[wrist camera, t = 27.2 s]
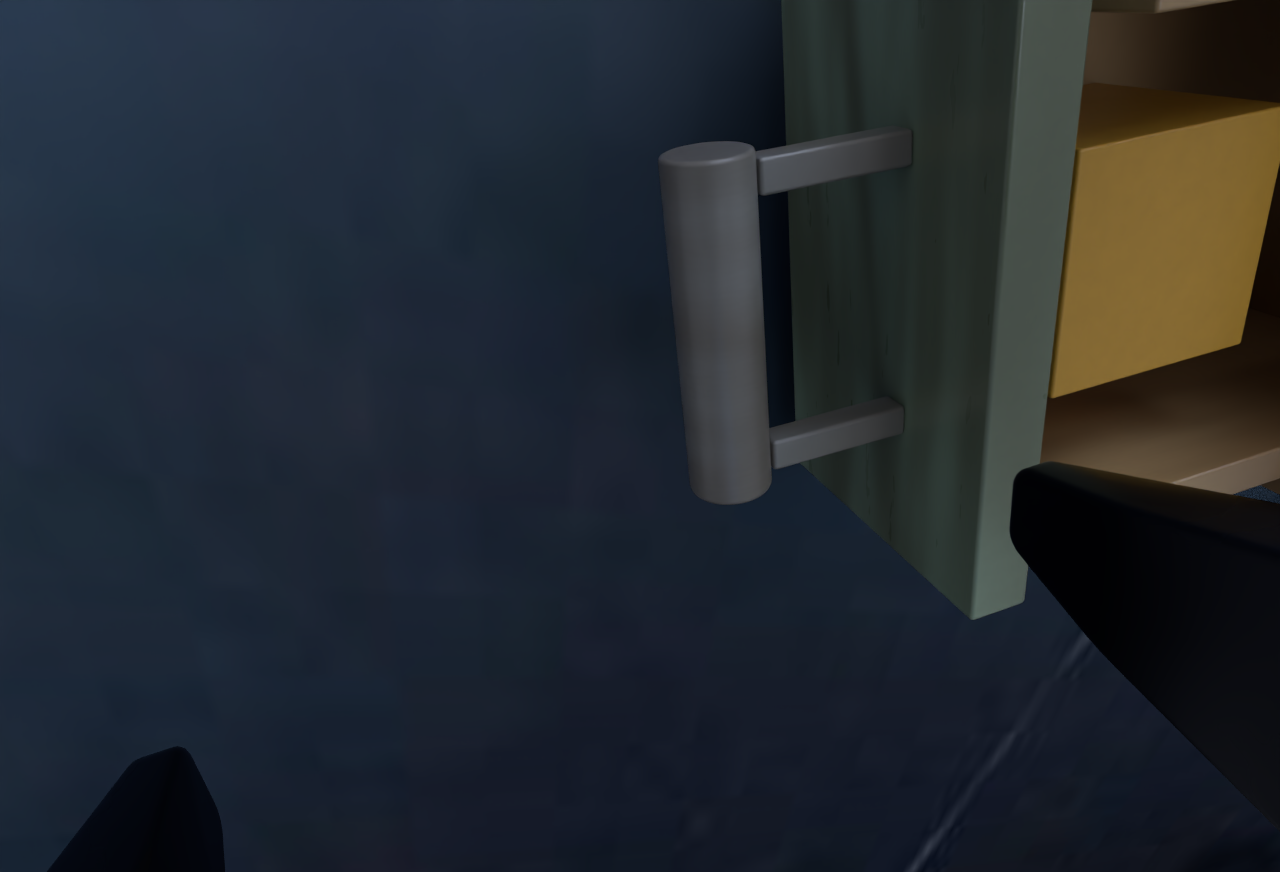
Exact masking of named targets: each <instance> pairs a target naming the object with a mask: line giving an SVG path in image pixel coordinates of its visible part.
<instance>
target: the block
mask: <svg viewBox="0 0 1280 872" xmlns="http://www.w3.org/2000/svg"><path fill="white" fill-rule="evenodd" d="M1279 164H1280V103H1276V102H1267V101H1258V100H1249V99H1240V98H1231V97H1222V96H1213V95H1204V94H1194V93H1185V92H1176V91H1167V90H1158V89H1149V88H1140V87H1131V86H1122V85H1113V84H1104V83H1092V84H1087V85H1083V88H1082V97H1081V106H1080V114H1079V123H1078V132H1077V141H1076V150H1075V158H1074V167H1073V176H1072V185H1071V194H1070V202H1069V211H1068V220H1067V229H1066V238H1065V246H1064V255H1063V264H1062V273H1061V282H1060V290H1059V299H1058V308H1057V317H1056V326H1055V334H1054V343H1053V352H1052V361H1051V370H1050V378H1049V387H1048V396H1047V397H1049V398H1056V397H1059V396H1063V395H1066V394H1070V393H1073V392H1077V391H1080V390H1083V389H1087V388H1090V387H1094V386H1097V385H1101V384H1104V383H1107V382H1111V381H1114V380H1118V379H1121V378H1125V377H1128V376H1131V375H1135V374H1138V373H1142V372H1145V371H1149V370H1152V369H1155V368H1159V367H1162V366H1166V365H1169V364H1173V363H1176V362H1179V361H1183V360H1186V359H1190V358H1193V357H1197V356H1200V355H1203V354H1207V353H1210V352H1214V351H1217V350H1221V349H1224V348H1228V347H1231V346H1234V345H1238V344H1240V342H1241V339H1242V334H1243V330H1244V325H1245V320H1246V316H1247V311H1248V307H1249V302H1250V297H1251V293H1252V288H1253V283H1254V279H1255V274H1256V270H1257V265H1258V260H1259V256H1260V251H1261V247H1262V242H1263V237H1264V233H1265V228H1266V224H1267V219H1268V214H1269V210H1270V205H1271V201H1272V196H1273V191H1274V187H1275V182H1276V178H1277V173H1278V168H1279Z"/></svg>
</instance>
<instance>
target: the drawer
mask: <svg viewBox="0 0 1280 872" xmlns="http://www.w3.org/2000/svg"><path fill="white" fill-rule="evenodd" d="M781 5H782V35H783V65H784V95H785V125H786V146H781V147H776V148H771V149H766V150H760V151H755V149H754V147H753V146H752V145H750V144H746V143H742V142H734V141H716V142H704V143H696V144H690V145H685V146H681V147H677V148H674V149H671V150H669V151H667V152H665V153H663V154H661V155H660V156H659V159H658V168H659V178H660V188H661V198H662V208H663V218H664V228H665V238H666V248H667V259H668V269H669V279H670V289H671V299H672V309H673V319H674V329H675V339H676V349H677V359H678V369H679V379H680V389H681V399H682V409H683V419H684V430H685V440H686V450H687V460H688V470H689V480H690V487H691V489H692V491H693V492H694V494H695V495H696V496H698V497H699V498H700V499H702V500H704V501H707V502H710V503H715V504H722V505H733V504H741V503H745V502H749V501H752V500H754V499H757V498H758V497H760V496H762V495H763V494H764V493H765V492H766V491H767V490H768V489H769V487H770V484H771V481H772V474H771V466H772V467H773V468H774V469H780V468H783V467H787V466H790V465H794V464H797V463H800V464H801V465H803V466H804V467H805V468H806V469H807V470H808V471H809V472H810V473H811V474H812V475H813V476H815V477H816V478H817V479H818V480H819V481H820V482H821V483H822V484H823V485H824V486H825V487H827V488H828V489H829V490H830V491H831V492H832V493H833V494H834V495H835V496H836V497H837V498H839V499H840V500H841V501H842V502H843V503H844V504H845V505H846V506H847V507H848V508H849V509H851V510H852V511H853V512H854V513H855V514H856V515H857V516H858V517H859V518H860V519H861V520H862V521H864V522H865V523H866V524H867V525H868V526H869V527H870V528H871V529H872V530H873V531H874V532H876V533H877V534H878V535H879V536H880V537H881V538H882V539H883V540H884V541H885V542H886V543H888V544H889V545H890V546H891V547H892V548H893V549H894V550H895V551H896V552H897V553H898V554H900V555H901V556H902V557H903V558H904V559H905V560H906V561H907V562H908V563H909V564H910V565H912V566H913V567H914V568H915V569H916V570H917V571H918V572H919V573H920V574H921V575H922V576H923V577H925V578H926V579H927V580H928V581H929V582H930V583H931V584H932V585H933V586H934V587H935V588H937V589H938V590H939V591H940V592H941V593H942V594H943V595H944V596H945V597H946V598H947V599H949V600H950V601H951V602H952V603H953V604H954V605H955V606H956V607H957V608H958V609H959V610H961V611H962V612H963V613H964V614H965V615H966V616H967V617H968V618H969V619H971V620H975V619H978V618H981V617H984V616H987V615H990V614H992V613H995V612H998V611H1001V610H1004V609H1007V608H1009V607H1012V606H1015V605H1018V604H1021V603H1022V602H1023V601H1024V599H1025V590H1026V581H1027V572H1028V564H1027V563H1026V562H1025V561H1024V560H1023V558H1022V557H1021V556H1020V555H1019V554H1018V552H1017V551H1016V549H1015V547H1014V545H1013V543H1012V541H1011V538H1010V532H1009V527H1010V514H1011V502H1012V489H1013V481H1014V478H1015V476H1016V475H1017V473H1018V472H1019V471H1021V470H1022V469H1025V468H1028V467H1031V466H1034V465H1037V464H1040V463H1043V462H1047V461H1056V462H1061V463H1066V464H1072V465H1077V466H1082V467H1088V468H1093V469H1098V470H1104V471H1109V472H1114V473H1119V474H1125V475H1130V476H1135V477H1141V478H1146V479H1151V480H1157V481H1162V482H1167V483H1173V484H1178V485H1183V486H1188V487H1194V488H1199V489H1204V490H1210V491H1215V492H1220V493H1226V494H1231V495H1232V494H1235V493H1238V492H1241V491H1244V490H1247V489H1250V488H1253V487H1256V486H1259V485H1262V484H1265V483H1268V482H1271V481H1273V480H1276V479H1279V478H1280V164H1279V168H1278V173H1277V178H1276V182H1275V187H1274V191H1273V196H1272V201H1271V205H1270V210H1269V214H1268V219H1267V224H1266V228H1265V233H1264V237H1263V242H1262V247H1261V251H1260V256H1259V260H1258V265H1257V270H1256V274H1255V279H1254V283H1253V288H1252V293H1251V297H1250V302H1249V307H1248V311H1247V316H1246V320H1245V325H1244V330H1243V334H1242V339H1241V342H1240V344H1238V345H1234V346H1231V347H1228V348H1224V349H1221V350H1217V351H1214V352H1210V353H1207V354H1203V355H1200V356H1197V357H1193V358H1190V359H1186V360H1183V361H1179V362H1176V363H1173V364H1169V365H1166V366H1162V367H1159V368H1155V369H1152V370H1149V371H1145V372H1142V373H1138V374H1135V375H1131V376H1128V377H1125V378H1121V379H1118V380H1114V381H1111V382H1107V383H1104V384H1101V385H1097V386H1094V387H1090V388H1087V389H1083V390H1080V391H1077V392H1073V393H1070V394H1066V395H1063V396H1059V397H1056V398H1049V397H1047V396H1048V387H1049V378H1050V370H1051V361H1052V352H1053V343H1054V334H1055V326H1056V317H1057V308H1058V299H1059V290H1060V282H1061V273H1062V264H1063V255H1064V246H1065V238H1066V229H1067V220H1068V211H1069V202H1070V194H1071V185H1072V176H1073V167H1074V158H1075V150H1076V141H1077V132H1078V123H1079V114H1080V106H1081V97H1082V88H1083V85H1087V84H1092V83H1104V84H1113V85H1122V86H1131V87H1140V88H1149V89H1158V90H1167V91H1176V92H1185V93H1194V94H1204V95H1213V96H1222V97H1231V98H1240V99H1249V100H1258V101H1267V102H1276V103H1280V0H781ZM785 191H788V214H789V244H790V274H791V304H792V334H793V364H794V394H795V421H793V422H790V423H786V424H782V425H779V426H775V427H772V428H769V413H768V393H767V372H766V352H765V332H764V311H763V291H762V271H761V250H760V230H759V210H758V194H759V195H762V196H766V195H771V194H776V193H780V192H785Z"/></svg>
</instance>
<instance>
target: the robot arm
mask: <svg viewBox="0 0 1280 872" xmlns="http://www.w3.org/2000/svg"><path fill="white" fill-rule="evenodd" d="M1009 532H1010V538H1011V541H1012V543H1013V545H1014V547H1015V549H1016V551H1017V552H1018V554H1019V555H1020V556H1021V557H1022V558H1023V560H1024V561H1025V562H1026V563H1027V564H1028V566H1029V567H1030V568H1031V569H1032V570H1033V572H1034V573H1035V574H1036V575H1037V577H1038V578H1039V579H1040V580H1041V581H1042V583H1043V584H1044V585H1045V586H1046V587H1047V589H1048V590H1049V591H1050V592H1051V593H1052V595H1053V596H1054V597H1055V598H1056V600H1057V601H1058V602H1059V603H1060V604H1061V606H1062V607H1063V608H1064V609H1065V610H1066V612H1067V613H1068V614H1069V615H1070V616H1071V618H1072V619H1073V620H1074V621H1075V623H1076V624H1077V625H1078V626H1079V627H1080V629H1081V630H1082V631H1083V632H1084V633H1085V635H1086V636H1087V637H1088V638H1089V639H1090V640H1091V641H1092V643H1093V644H1094V645H1095V646H1096V647H1097V648H1098V650H1099V651H1100V652H1101V653H1102V654H1103V655H1104V656H1105V657H1106V658H1107V659H1108V660H1109V661H1110V662H1111V663H1112V664H1113V665H1114V666H1115V667H1116V668H1117V669H1118V670H1119V671H1120V672H1121V673H1122V674H1123V675H1124V676H1125V677H1126V678H1127V679H1128V680H1129V681H1130V682H1131V683H1132V684H1133V685H1134V686H1135V687H1136V688H1137V689H1138V690H1139V691H1140V692H1141V693H1142V694H1143V695H1144V696H1145V697H1146V698H1147V699H1148V700H1149V701H1150V702H1151V703H1152V704H1153V705H1154V706H1155V707H1156V708H1157V709H1158V710H1159V711H1160V712H1161V713H1162V714H1163V715H1164V716H1165V717H1166V718H1167V719H1168V720H1169V721H1170V722H1171V723H1172V724H1173V725H1174V726H1175V727H1176V728H1177V729H1178V730H1179V731H1180V732H1181V733H1182V734H1183V735H1184V736H1185V737H1186V738H1187V739H1188V740H1189V741H1190V742H1191V743H1192V744H1193V745H1194V746H1195V747H1196V748H1197V749H1198V750H1199V751H1200V752H1201V753H1202V754H1203V755H1204V756H1205V757H1206V758H1207V759H1208V760H1209V761H1210V762H1211V763H1212V764H1213V765H1214V766H1215V767H1216V768H1217V769H1218V770H1219V771H1220V772H1221V773H1222V774H1223V775H1224V776H1225V777H1226V778H1227V779H1228V780H1229V781H1230V782H1231V783H1232V784H1233V785H1234V786H1235V787H1236V788H1237V789H1238V790H1239V791H1240V792H1241V793H1242V794H1243V795H1244V796H1245V797H1246V798H1247V799H1248V800H1249V801H1250V802H1251V803H1252V804H1253V805H1254V806H1255V807H1256V808H1257V809H1258V810H1259V811H1260V812H1261V813H1262V814H1263V815H1264V816H1265V817H1266V818H1267V819H1268V820H1269V821H1270V822H1271V823H1272V824H1273V825H1274V826H1275V827H1276V828H1277V829H1278V830H1279V831H1280V504H1279V503H1273V502H1268V501H1263V500H1257V499H1252V498H1247V497H1241V496H1236V495H1231V494H1226V493H1220V492H1215V491H1210V490H1204V489H1199V488H1194V487H1188V486H1183V485H1178V484H1173V483H1167V482H1162V481H1157V480H1151V479H1146V478H1141V477H1135V476H1130V475H1125V474H1119V473H1114V472H1109V471H1104V470H1098V469H1093V468H1088V467H1082V466H1077V465H1072V464H1066V463H1061V462H1056V461H1047V462H1043V463H1040V464H1037V465H1034V466H1031V467H1028V468H1025V469H1022V470H1021V471H1019V472H1018V473H1017V475H1016V476H1015V478H1014V481H1013V489H1012V502H1011V514H1010V527H1009ZM47 872H225V863H224V848H223V833H222V826H221V820H220V816H219V813H218V810H217V807H216V805H215V803H214V801H213V799H212V797H211V795H210V792H209V790H208V788H207V786H206V784H205V782H204V780H203V778H202V776H201V774H200V772H199V770H198V768H197V766H196V764H195V762H194V760H193V758H192V756H191V755H190V753H189V752H188V751H187V750H186V749H185V748H182V747H179V746H176V747H172V748H169V749H166V750H163V751H160V752H157V753H154V754H151V755H147V756H144V757H141V758H139V759H137V760H135V761H134V762H132V763H131V764H130V766H129V767H128V768H127V769H126V770H125V771H124V773H123V774H122V775H121V777H120V778H119V779H118V781H117V782H116V783H115V784H114V786H113V787H112V788H111V790H110V791H109V792H108V793H107V795H106V796H105V797H104V799H103V800H102V801H101V802H100V804H99V805H98V806H97V808H96V809H95V810H94V812H93V813H92V814H91V815H90V817H89V818H88V819H87V821H86V822H85V823H84V824H83V826H82V827H81V828H80V830H79V831H78V832H77V833H76V835H75V836H74V837H73V839H72V840H71V841H70V843H69V844H68V845H67V846H66V848H65V849H64V850H63V852H62V853H61V854H60V855H59V857H58V858H57V859H56V861H55V862H54V863H53V864H52V866H51V867H50V868H49V870H48V871H47Z"/></svg>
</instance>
